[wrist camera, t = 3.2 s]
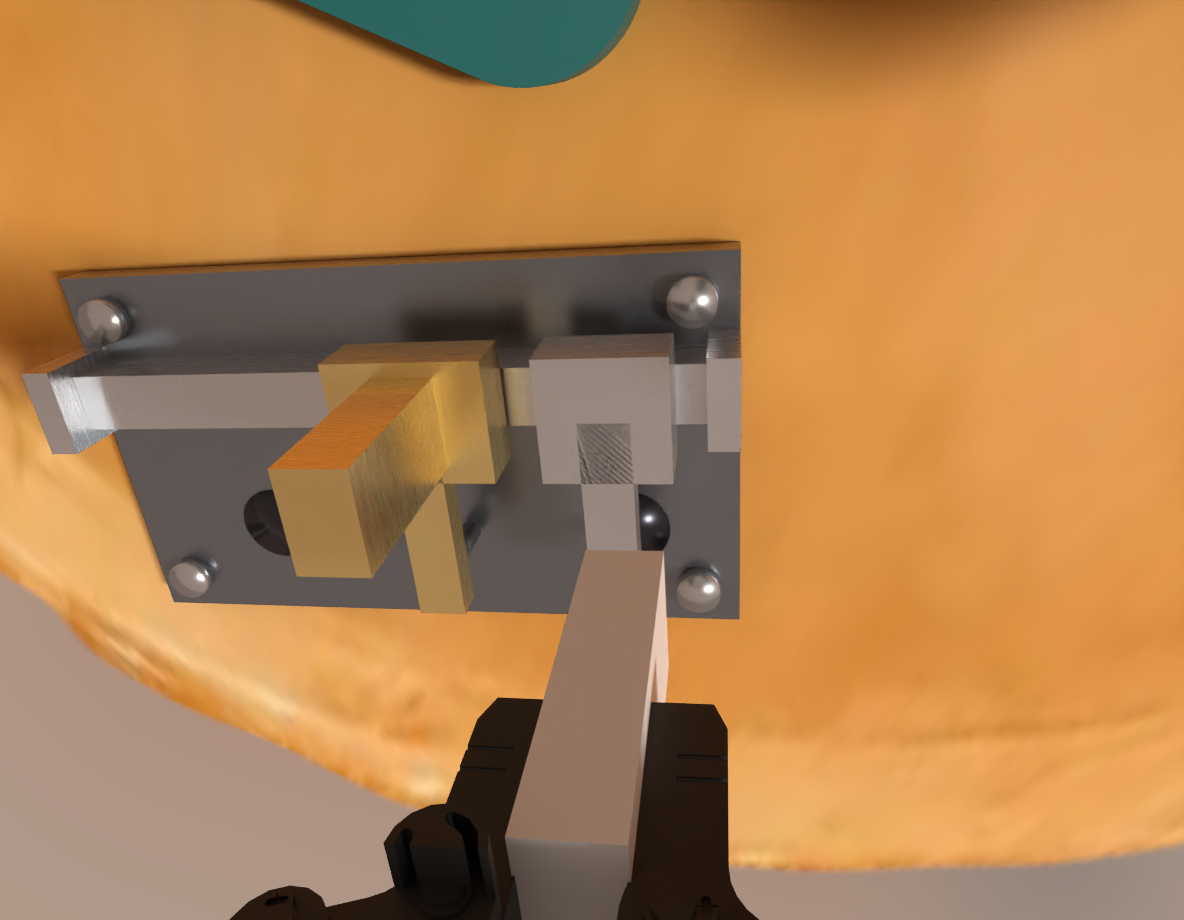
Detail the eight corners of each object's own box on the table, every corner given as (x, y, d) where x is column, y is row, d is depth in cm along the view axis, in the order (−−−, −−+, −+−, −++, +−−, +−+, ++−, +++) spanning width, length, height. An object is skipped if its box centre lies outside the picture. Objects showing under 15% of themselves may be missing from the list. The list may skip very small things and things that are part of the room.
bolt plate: (82, 271, 30) (46, 283, 29) (740, 241, 26) (740, 253, 25) (190, 586, 36) (165, 610, 35) (739, 600, 32) (739, 629, 31)
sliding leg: (367, 327, 28) (203, 450, 19) (509, 323, 27) (405, 449, 18) (411, 552, 32) (292, 739, 23) (537, 554, 31) (462, 749, 22)
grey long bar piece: (78, 333, 30) (-14, 372, 27) (740, 312, 26) (742, 355, 22) (152, 542, 34) (81, 602, 30) (739, 552, 30) (740, 622, 26)
